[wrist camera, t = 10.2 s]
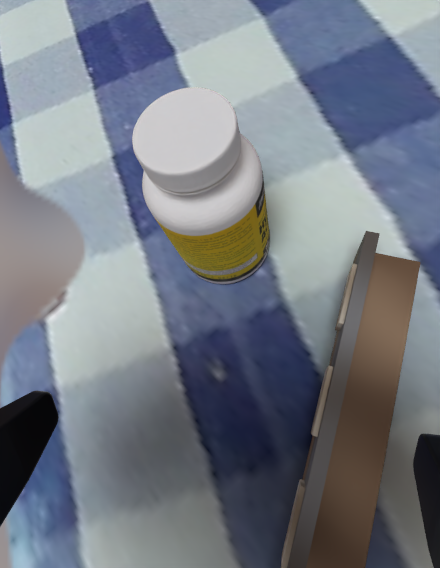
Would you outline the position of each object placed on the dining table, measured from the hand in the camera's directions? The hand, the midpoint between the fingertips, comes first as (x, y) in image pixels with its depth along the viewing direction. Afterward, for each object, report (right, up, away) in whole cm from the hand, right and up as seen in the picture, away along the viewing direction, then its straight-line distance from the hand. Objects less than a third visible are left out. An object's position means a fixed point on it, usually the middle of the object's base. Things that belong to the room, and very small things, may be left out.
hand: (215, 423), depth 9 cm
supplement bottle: (+1, +6, +14) cm, 15 cm away
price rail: (+7, -3, +9) cm, 12 cm away
